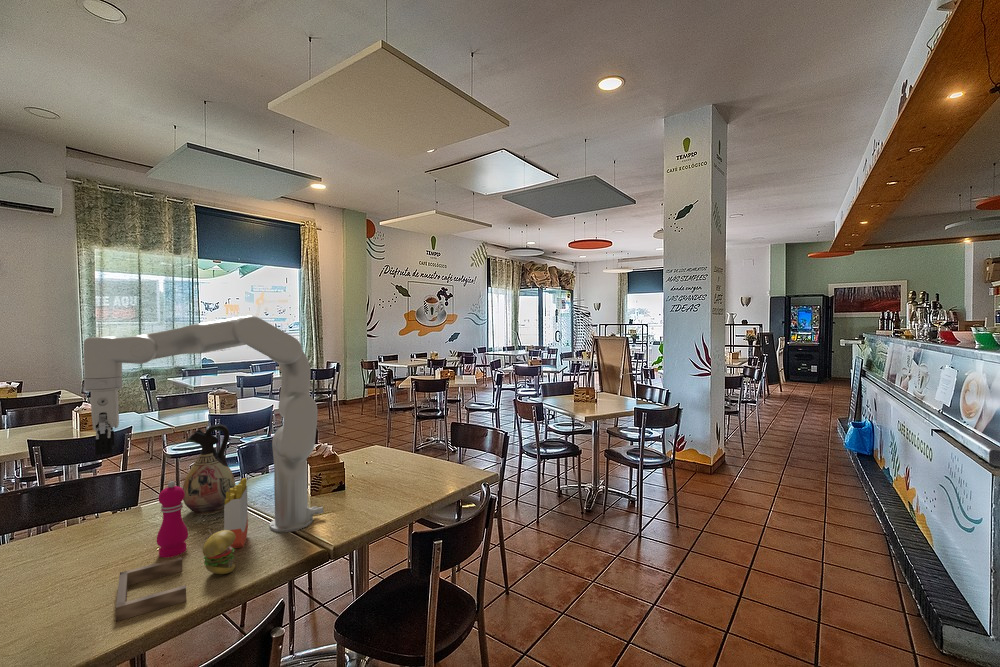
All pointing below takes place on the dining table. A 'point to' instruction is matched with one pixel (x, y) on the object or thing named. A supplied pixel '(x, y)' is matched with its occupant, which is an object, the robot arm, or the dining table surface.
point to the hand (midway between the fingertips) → (105, 450)
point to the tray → (150, 601)
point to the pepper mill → (172, 522)
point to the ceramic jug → (208, 474)
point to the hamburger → (219, 552)
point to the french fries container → (237, 513)
